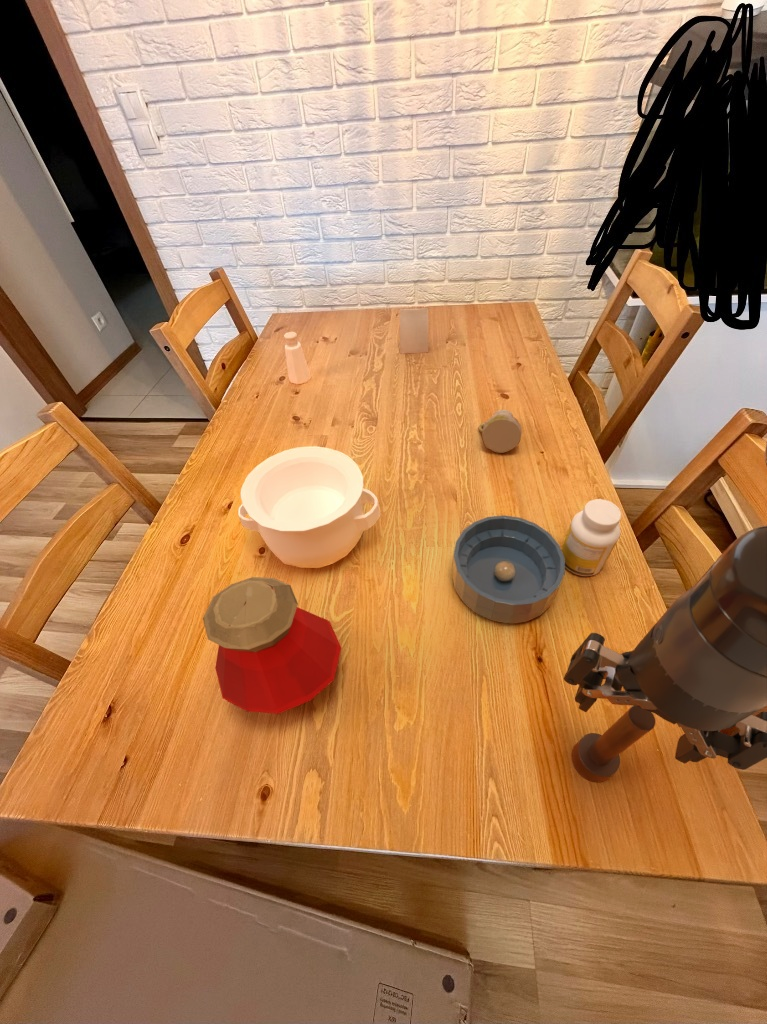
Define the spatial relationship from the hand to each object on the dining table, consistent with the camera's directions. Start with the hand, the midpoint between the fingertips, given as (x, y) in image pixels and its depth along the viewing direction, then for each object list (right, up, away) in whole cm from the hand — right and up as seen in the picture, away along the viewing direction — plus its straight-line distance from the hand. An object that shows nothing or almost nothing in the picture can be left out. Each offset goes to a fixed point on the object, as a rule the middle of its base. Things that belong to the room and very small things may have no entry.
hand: (630, 725), depth 43 cm
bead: (-5, +11, +25) cm, 28 cm away
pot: (-34, +16, +34) cm, 51 cm away
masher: (+1, -9, +10) cm, 13 cm away
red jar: (-36, -2, +19) cm, 41 cm away
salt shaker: (-43, +51, +65) cm, 94 cm away
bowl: (-5, +10, +26) cm, 29 cm away
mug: (-1, +34, +47) cm, 59 cm away
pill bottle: (+7, +12, +28) cm, 31 cm away
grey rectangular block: (-15, +60, +71) cm, 94 cm away
